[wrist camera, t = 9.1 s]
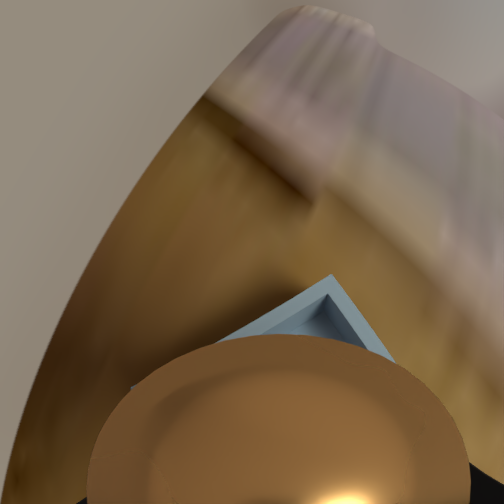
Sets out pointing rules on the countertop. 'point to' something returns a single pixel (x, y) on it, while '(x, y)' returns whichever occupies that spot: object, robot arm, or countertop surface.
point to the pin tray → (317, 318)
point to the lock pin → (279, 430)
